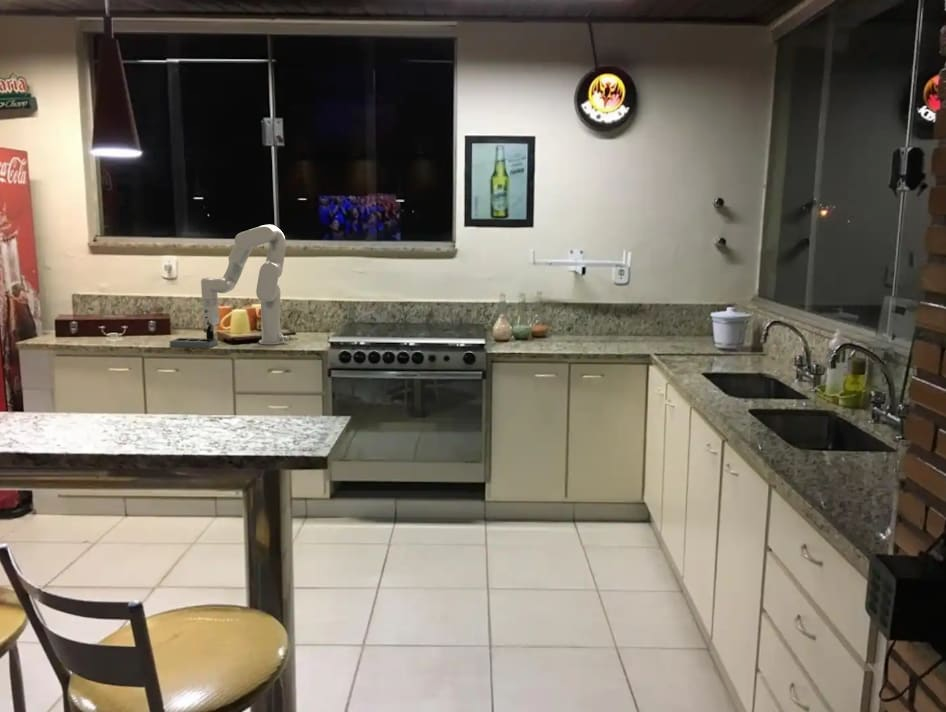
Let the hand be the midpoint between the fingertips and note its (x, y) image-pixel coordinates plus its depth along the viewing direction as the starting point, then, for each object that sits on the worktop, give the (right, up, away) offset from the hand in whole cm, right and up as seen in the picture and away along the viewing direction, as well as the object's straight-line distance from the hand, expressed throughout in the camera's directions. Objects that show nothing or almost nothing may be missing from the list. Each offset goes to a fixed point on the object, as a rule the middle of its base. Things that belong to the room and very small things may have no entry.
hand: (212, 337), depth 394 cm
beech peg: (0, -2, 0) cm, 2 cm away
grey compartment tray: (-5, -5, -11) cm, 13 cm away
